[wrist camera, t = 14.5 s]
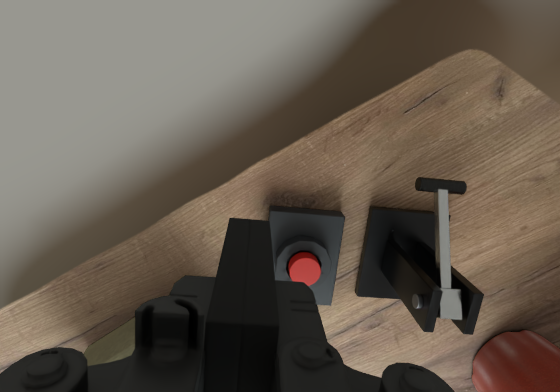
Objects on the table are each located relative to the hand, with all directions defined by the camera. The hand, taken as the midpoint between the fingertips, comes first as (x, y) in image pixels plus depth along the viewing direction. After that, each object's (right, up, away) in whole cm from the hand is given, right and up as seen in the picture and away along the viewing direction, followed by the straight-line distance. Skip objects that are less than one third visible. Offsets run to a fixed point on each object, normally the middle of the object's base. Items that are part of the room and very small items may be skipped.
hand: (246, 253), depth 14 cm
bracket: (+17, -5, +34) cm, 38 cm away
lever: (+18, -3, +25) cm, 31 cm away
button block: (+4, -5, +33) cm, 34 cm away
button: (+4, -6, +30) cm, 31 cm away
